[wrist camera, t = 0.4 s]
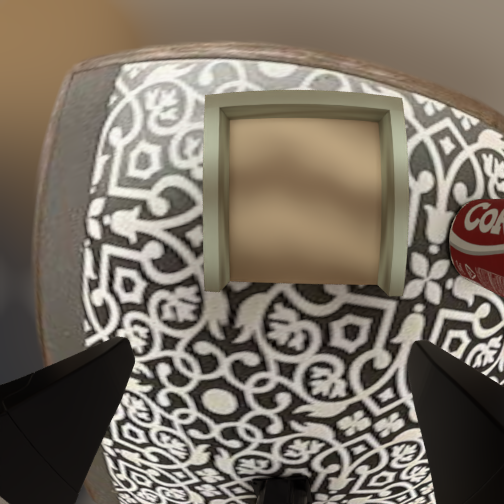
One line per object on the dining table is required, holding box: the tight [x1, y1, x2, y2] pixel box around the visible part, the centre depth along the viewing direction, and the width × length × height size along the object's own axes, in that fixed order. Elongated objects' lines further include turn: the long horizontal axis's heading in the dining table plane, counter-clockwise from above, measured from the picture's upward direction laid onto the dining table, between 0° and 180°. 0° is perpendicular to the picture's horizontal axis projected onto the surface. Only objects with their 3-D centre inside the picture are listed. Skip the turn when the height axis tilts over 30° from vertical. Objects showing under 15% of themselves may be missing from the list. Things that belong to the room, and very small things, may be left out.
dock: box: [203, 90, 409, 296], centre depth 19 cm, size 13×13×4 cm
